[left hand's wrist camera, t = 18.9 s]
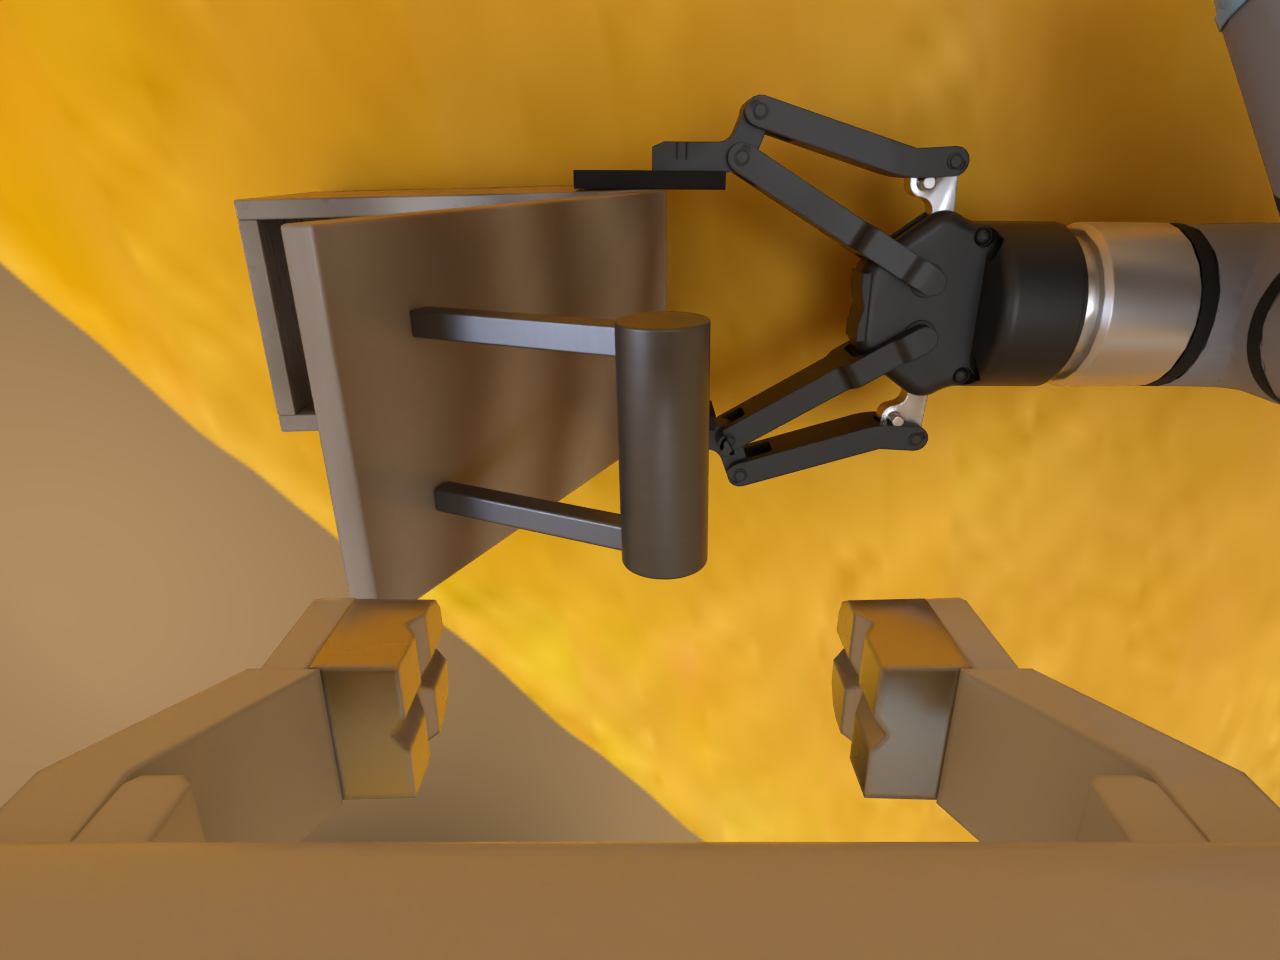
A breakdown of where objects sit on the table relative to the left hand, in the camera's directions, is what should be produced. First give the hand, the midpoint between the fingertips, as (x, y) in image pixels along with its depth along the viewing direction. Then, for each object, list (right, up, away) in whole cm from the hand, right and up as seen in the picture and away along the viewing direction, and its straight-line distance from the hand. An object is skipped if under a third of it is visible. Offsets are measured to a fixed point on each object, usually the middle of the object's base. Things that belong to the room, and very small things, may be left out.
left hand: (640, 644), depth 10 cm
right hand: (-3, +10, +26) cm, 29 cm away
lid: (-4, +6, +16) cm, 18 cm away
